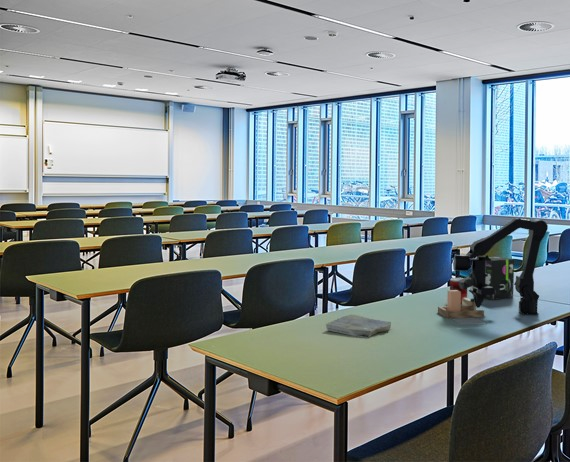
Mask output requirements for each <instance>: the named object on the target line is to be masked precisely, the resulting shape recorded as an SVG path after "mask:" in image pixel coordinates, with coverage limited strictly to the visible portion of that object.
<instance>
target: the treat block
mask: <svg viewBox="0 0 570 462" xmlns="http://www.w3.org/2000/svg"><path fill="white" fill-rule="evenodd" d="M446 295H447V296H446V297H447V299H446V300H447V301H446V305H447V310H448V311H460V309H461V306H462V304H461V292H460V291H458V290H450V289H449V290H447V293H446Z"/></svg>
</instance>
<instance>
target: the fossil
mask: <svg viewBox="0 0 570 462" xmlns="http://www.w3.org/2000/svg"><path fill="white" fill-rule="evenodd" d="M325 327H326V330H327V331H329V332H333V333H338V334H339V333H340V334H344V335H347V336H348V335H349V336H352V337H357V338H358V337H359V338H366V339H368V338H369V337H371V336H374V335H375V334H377V333H378V334H379V333H381V332H387V331H390V329H391V327H392V322H391V321H385V320H380V319H374V318H369V317H364V316H361V315H358V314H348V315H344V316H342V317H340V318H337V319H335V320H333V321H330V322H328V323H326V325H325Z"/></svg>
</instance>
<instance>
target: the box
mask: <svg viewBox="0 0 570 462" xmlns="http://www.w3.org/2000/svg"><path fill="white" fill-rule="evenodd" d="M488 257H489V258H490V259H491V261H486V274H488V276H487V277H486V283H487V284H488V286H491V287H493V288H494V289H495V290H496V292H495V294H491V295H486V297H485V299H487V300H491V301H496V300H503V299H504V300H505V299H512V298H514V287H515V285H514V283H515V282H514V281H515V280H514V279H515V259H514V258H508V257H503V256H488Z"/></svg>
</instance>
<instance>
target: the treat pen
mask: <svg viewBox="0 0 570 462" xmlns="http://www.w3.org/2000/svg"><path fill="white" fill-rule="evenodd" d="M437 314H439V315H441V316H443V317H444V318H447V319H459V318H485V310H483V309H481V310H480V309H479V310H477V309H476V310H474V306H473V305H472V306H462V305H461V309H460V311H448V310H447V306H446V305H445V306H437Z"/></svg>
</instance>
